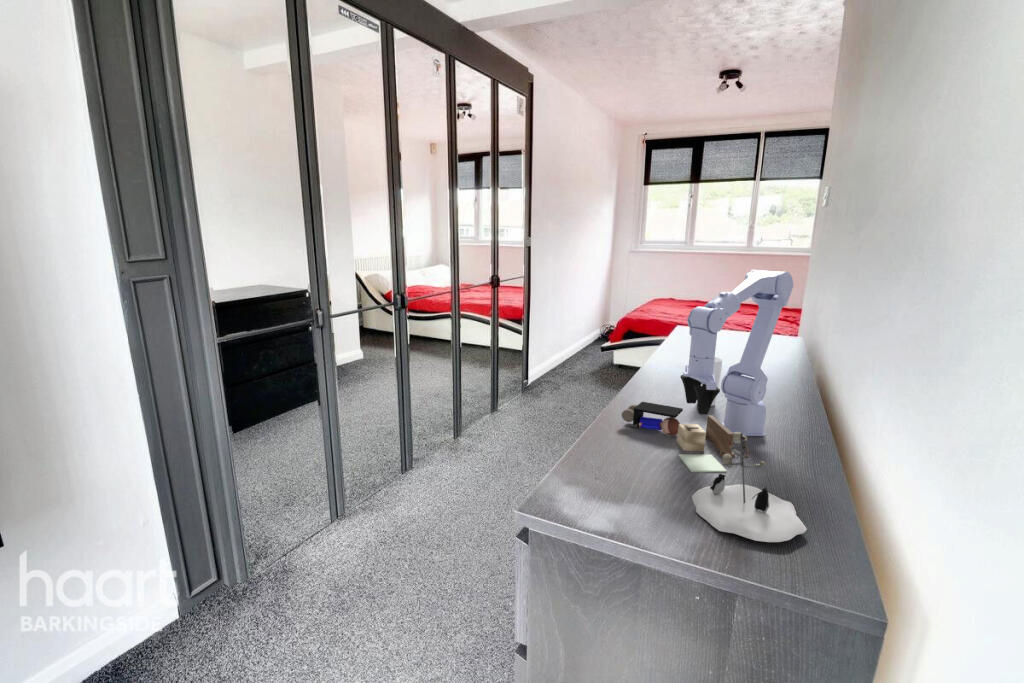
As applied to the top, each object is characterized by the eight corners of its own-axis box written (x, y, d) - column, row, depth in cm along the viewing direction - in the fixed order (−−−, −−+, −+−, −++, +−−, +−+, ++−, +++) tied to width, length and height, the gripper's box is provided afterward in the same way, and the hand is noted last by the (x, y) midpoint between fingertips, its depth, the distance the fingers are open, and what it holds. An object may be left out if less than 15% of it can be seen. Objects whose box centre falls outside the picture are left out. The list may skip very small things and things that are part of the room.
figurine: (831, 534, 82) (837, 445, 79) (746, 554, 77) (750, 460, 74) (744, 487, 101) (747, 414, 98) (672, 500, 96) (673, 424, 93)
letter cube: (696, 442, 120) (698, 423, 119) (704, 451, 116) (706, 431, 114) (676, 442, 120) (678, 423, 119) (684, 450, 115) (686, 431, 114)
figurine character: (621, 433, 129) (676, 441, 120) (619, 406, 128) (675, 412, 119) (630, 425, 135) (684, 432, 126) (629, 399, 134) (683, 405, 125)
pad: (711, 456, 113) (711, 454, 112) (726, 472, 105) (726, 470, 105) (678, 455, 112) (678, 454, 112) (691, 472, 105) (691, 470, 105)
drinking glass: (694, 406, 147) (699, 360, 143) (694, 399, 153) (699, 355, 149) (717, 409, 144) (723, 362, 141) (717, 402, 150) (722, 357, 147)
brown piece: (713, 436, 124) (715, 415, 123) (734, 457, 112) (737, 434, 111) (702, 436, 124) (704, 415, 123) (722, 457, 112) (725, 433, 111)
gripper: (675, 348, 121) (671, 398, 124) (697, 363, 107) (691, 419, 109) (702, 349, 121) (697, 398, 124) (727, 363, 107) (721, 419, 109)
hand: (696, 408), depth 117 cm, fingers open, 7 cm apart
